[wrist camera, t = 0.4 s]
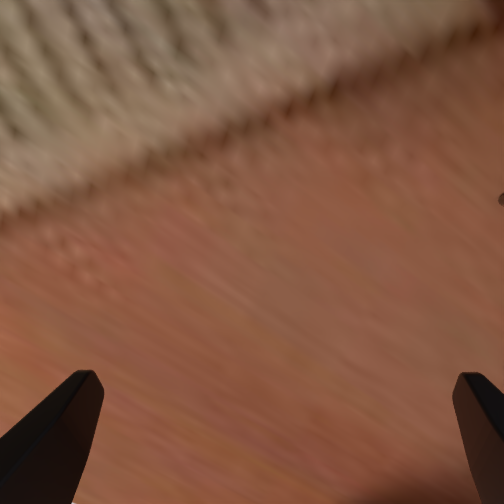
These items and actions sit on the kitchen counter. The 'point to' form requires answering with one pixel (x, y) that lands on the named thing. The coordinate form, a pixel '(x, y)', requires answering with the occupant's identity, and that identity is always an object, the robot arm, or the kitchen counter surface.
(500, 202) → the juicer
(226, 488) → the kitchen counter surface
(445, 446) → the kitchen counter surface
